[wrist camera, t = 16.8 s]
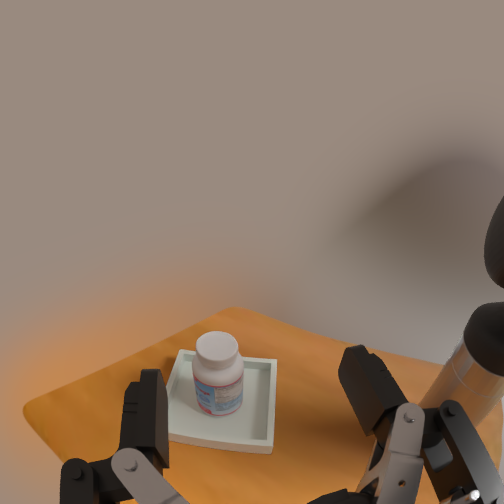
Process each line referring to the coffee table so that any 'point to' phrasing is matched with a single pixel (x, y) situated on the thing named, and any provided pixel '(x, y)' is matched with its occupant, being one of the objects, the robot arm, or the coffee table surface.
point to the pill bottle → (218, 374)
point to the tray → (230, 427)
